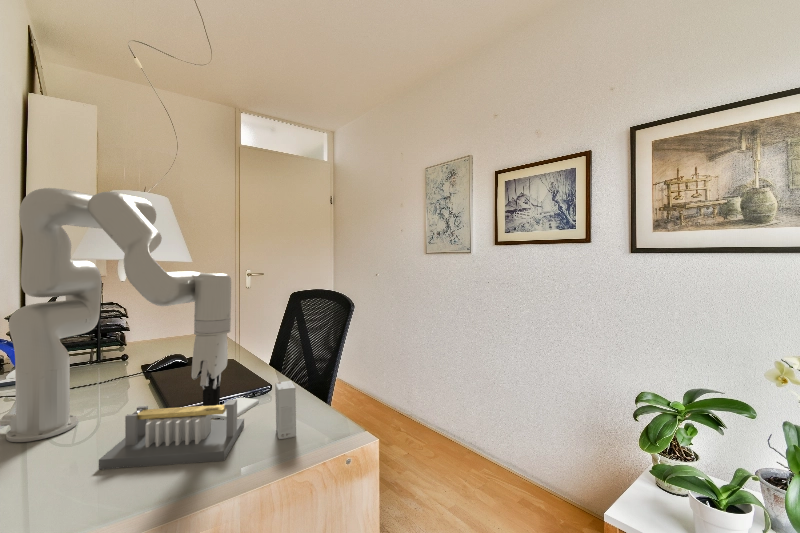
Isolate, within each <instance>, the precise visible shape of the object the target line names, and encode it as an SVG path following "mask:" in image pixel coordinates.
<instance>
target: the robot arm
mask: <svg viewBox="0 0 800 533" xmlns="http://www.w3.org/2000/svg"><path fill="white" fill-rule="evenodd" d="M18 210H19V213H18V216H19V223H20V227H21V233H22V250H21V251H22V253H21V272H20V285H21V289H22V291H23V293H25V294H26V295H27V296H29V297H32V298H56V297H65V300H59V301H57V300H56V301H47V302H37V303H32V304H31V303H30V304H29V305H25V306H22V307H20V308H18V309H16V310H15V311H14V312H13V313H12V314H11V316H10V318H9V320H8V331H9V334H10V338H11V341H12V345H13V350H14V364H15V365H14V366H15V371H14V372H15V413H10V414H4V415H3V416H2V417H1V420H0V427H5V426H6V427H7V426H9V427H10V428H9V430H8V431H7V432H6V434H5V438H6V440H7V441H8V442H11V443H28V442H35V441H39V440H44V439H47V438H53V437H55V436H57V435H61V434H64V433H65V432H68V431H70V430H71V429H73V428H74V427H75V426H77V425H78V423H79V417H77V416H76V415H72V414H70V413H71V411H70V410H71V404H70V403H71V402H70V401H71V397H70V396H71V394H70V393H71V392H70V389H71V385H70V384H71V380H70V379H71V377H70V376H71V375H70V372H71V371H70V367H71V366H70V363H71V362H70V361H71V359H70V355H69V351H68V350H67V348H66V347H65V346H64V345H63V344H62V342H61V339H64V338H68V337H69V338H70V337H74V336H80V335H82V334H86V333H89V332H90V331H92V330H93V329H94V328H95V327H96V326H97V325H98V322H99V319H100V313H101V298H102V274H101V271H100V270H99V268H98V266H97V265H96V264H95V263H93V262H92V261H90V260H86V259H82V258H72V241H71V238H70V237H69V234H68V233H67V232H66V230H65V229H64V228H63V226H73V227H79V228H80V227H81V228H91V229H102V230H103V232H104V233H106V235H107V236H108V237H109V238H110V239H111V240H112V241H113V242H114V243H115V244H116V245H117V247H118V248H119V249H121V251H122V252H123V253H124V255H123V267H124V268H123V269H124V274H125V276H126V279H127V280H128V281H129V283H130V284H131V286H132V287H134V288H135V290H136V291H137V292H138V293H139V294H140V295H141V296H142V297H143V298H144V299H145V300H146V301H148V302H149V303H150V304H152V305H155V306H159V307H170V306H175V305H183V304H189V303H194V316H193V317H194V319H193V320H194V321H193V323H194V324H193V331H194V332H193V334H194V335H195V337H194V343H193V351H192V360H191V361H192V363H191V378H192V379H193V380H197V379H199V377H200V382H199V386H200V387H202V406H216V405H219V403H220V402H221V386H220V385H221V382H222V381H221V378H222V373H223V371H224V370H225V369H226V368H227V366H228V358H229V357H228V355H229V354H228V352H229V351H228V348H229V347H228V346H229V343H228V334H229V333H230V332H231V325H232V324H231V319H232V318H231V317H232V315H231V313H232V311H231V310H232V279H231V276H230V275H229V274H227V273H221V272H218V273H217V272H209V273H207V272H199V271H193V270H185V271H181V270H178V271H177V270H176V271H166V270H165V269H164V268H163V267H162V266H161V265H160V264H159V263H158V262H157V260H155V258H154V257H153V256H152V254H151V253H154V251H156V249H157V248H159V246H160V245H161V243H162V239H163V238H162V234H161V232H159V230H158V229H157V228H156V227H155V226H154V225H155V223H156V220H157V211H156V208H155V207H154V205H153V204H152V203H151V202H150V201H148V200H147V199H145V198H143V197H141V196H135V195H132V194H126V193H121V192H116V191H101V192H98V193H96V194H90V193H84V192H80V191H76V190H75V191H74V190H71V189H70V190H69V189H63V188H55V187H44V188H38V189H34V190H32V191H31V192H28V194H26V196H25V197H24V198H23V200H22V202H21V203H20V206H19V209H18Z"/></svg>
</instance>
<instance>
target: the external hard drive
mask: <svg viewBox="0 0 800 533" xmlns="http://www.w3.org/2000/svg"><path fill="white" fill-rule="evenodd" d="M232 399H233V398H232ZM233 400H237V418H238V417H239V416H241V415H242V414H244V413H245V412H247V411H249V410H250V409H251V408H252V409H253V407H254V406H257V405H258V404H259V403H260V399H257V398H249V397H243V396H242V397H240V398H236V399H233ZM225 403H226V402H223V404H222V405H225ZM215 418H216V419H218V418H220V419H219V420H223V419H224V420H227V409H226V411H225V412H224V413H223V414H214V415H211V419H215Z"/></svg>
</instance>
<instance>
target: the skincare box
mask: <svg viewBox="0 0 800 533" xmlns="http://www.w3.org/2000/svg"><path fill="white" fill-rule="evenodd" d="M274 386H275V393H274V395H275V426H276V428H275V429H276V434H277V437H278V439H279V440H283V439H284V440H285V439H291V438H295V437H297V407H296V406H297V401H296V400H297V398H296V396H297V395H296V388H297V387H296V386H295V385H294V383H293V381H292V380H286V381H278V382H276V383H275V385H274Z"/></svg>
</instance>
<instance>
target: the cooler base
mask: <svg viewBox="0 0 800 533" xmlns="http://www.w3.org/2000/svg"><path fill="white" fill-rule="evenodd" d="M224 403H225V405H224V409H227V420H223V419H212V418H211V415H199V416H184V417H169V418H154V419H139V420H137V414H133V413H132V414H131V413H129V414H126V415H125V418H124V419H125V420H124V422H125V425H124V427H125V429H124V432H125V434H124V435H125V436H124V438H123V439H122V440H120V441H119V442H118V443H117V444H115V446H113V447H112V448H111V449H110V450H108V451H107V452H106V453H105V454H104V455H102V456H101V457H100V458H99V459H98V470H107V469H108V470H109V469H123V468H137V467H140V468H141V467H149V466H151V467H152V466H167V465H168V466H169V465H181V464H194V463H195V464H196V463H206V462H207V463H208V462H223V461H226V458H227V457H228V455H229V453H230V451H231V450H232V448H233V446H234V445H235V443H236V441H237V439H238V438H239V436H240V434H241V432H242V431H243V429H244V427H245V418H238V417H237V400H232V399H228V400H227V401H226V402H224ZM138 409H143V410H146V409H149V406H148V405H140V406H137V407H136V411H137V410H138Z"/></svg>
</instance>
